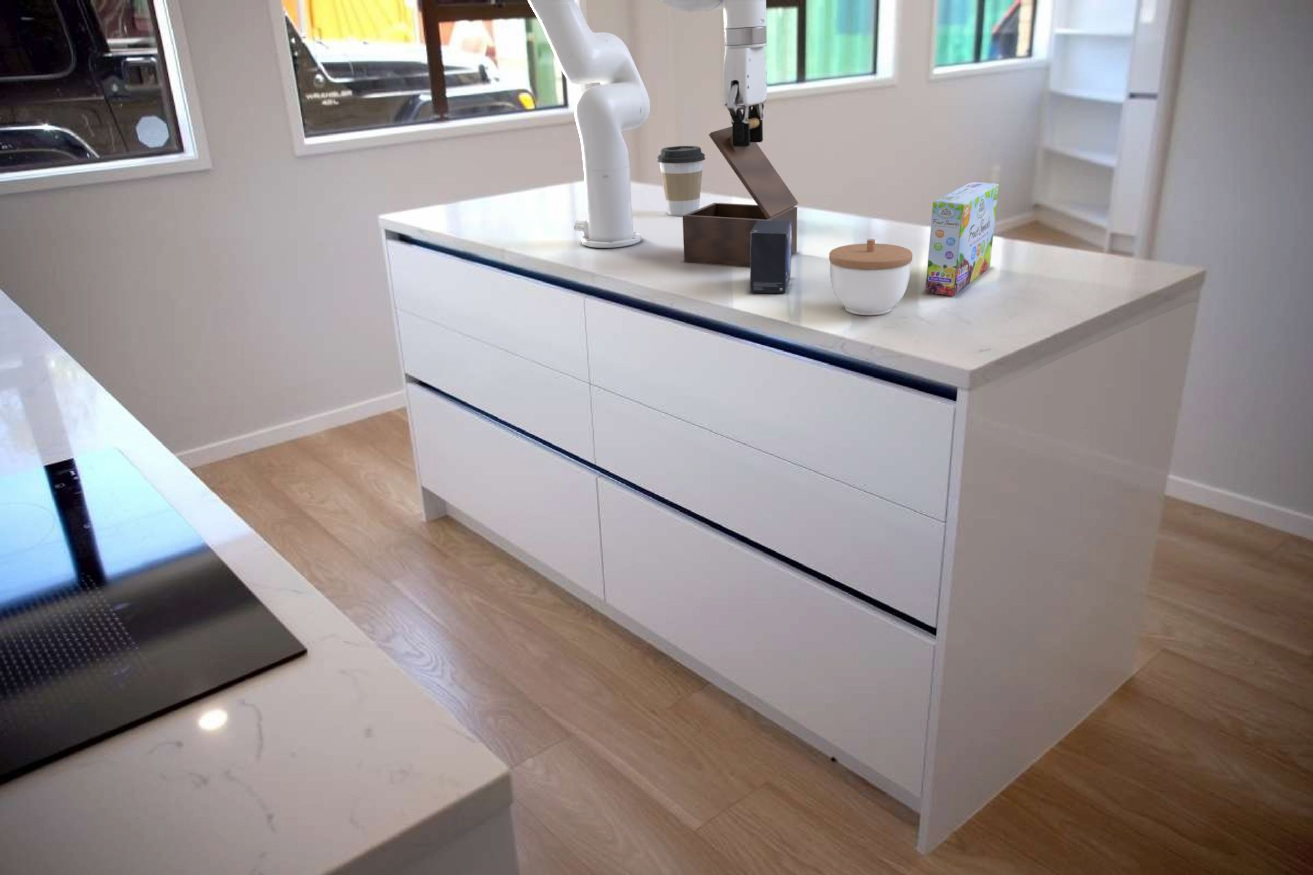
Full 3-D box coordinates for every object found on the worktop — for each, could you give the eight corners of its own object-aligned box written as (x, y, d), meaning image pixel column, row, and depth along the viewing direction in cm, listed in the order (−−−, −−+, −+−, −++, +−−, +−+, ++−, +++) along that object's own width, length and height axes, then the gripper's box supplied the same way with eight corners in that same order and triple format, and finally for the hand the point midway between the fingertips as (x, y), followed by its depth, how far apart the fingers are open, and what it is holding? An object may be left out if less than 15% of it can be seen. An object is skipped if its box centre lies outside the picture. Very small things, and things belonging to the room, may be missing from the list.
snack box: (957, 297, 161) (964, 203, 155) (923, 293, 164) (929, 201, 158) (992, 267, 178) (1000, 181, 172) (961, 265, 181) (967, 180, 175)
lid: (708, 134, 180) (730, 115, 177) (740, 125, 191) (761, 107, 188) (767, 219, 181) (790, 201, 178) (795, 205, 192) (817, 188, 189)
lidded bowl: (820, 301, 163) (821, 234, 159) (895, 296, 164) (899, 229, 159) (838, 323, 152) (840, 251, 147) (919, 317, 152) (924, 246, 148)
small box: (787, 294, 168) (787, 232, 164) (748, 294, 169) (748, 232, 165) (792, 278, 177) (792, 219, 173) (755, 278, 179) (755, 219, 174)
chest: (684, 261, 193) (682, 215, 189) (715, 246, 204) (714, 202, 200) (769, 269, 184) (769, 220, 181) (796, 252, 195) (797, 207, 192)
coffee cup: (677, 207, 245) (674, 144, 240) (716, 210, 239) (714, 146, 233) (649, 215, 237) (646, 150, 231) (689, 219, 231) (687, 152, 225)
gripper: (745, 38, 186) (748, 138, 193) (705, 42, 173) (709, 150, 180) (783, 36, 183) (784, 138, 190) (745, 40, 169) (747, 150, 176)
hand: (748, 143), depth 185 cm, fingers closed on lid, 5 cm apart
